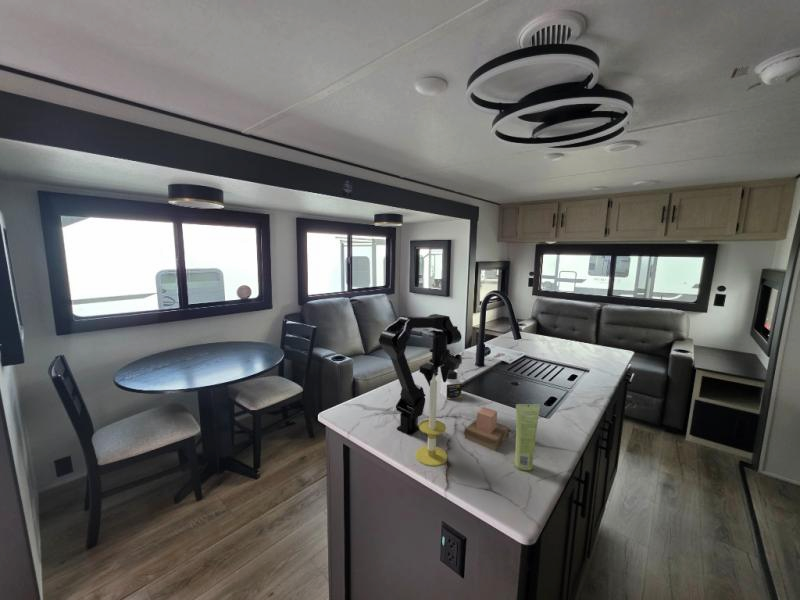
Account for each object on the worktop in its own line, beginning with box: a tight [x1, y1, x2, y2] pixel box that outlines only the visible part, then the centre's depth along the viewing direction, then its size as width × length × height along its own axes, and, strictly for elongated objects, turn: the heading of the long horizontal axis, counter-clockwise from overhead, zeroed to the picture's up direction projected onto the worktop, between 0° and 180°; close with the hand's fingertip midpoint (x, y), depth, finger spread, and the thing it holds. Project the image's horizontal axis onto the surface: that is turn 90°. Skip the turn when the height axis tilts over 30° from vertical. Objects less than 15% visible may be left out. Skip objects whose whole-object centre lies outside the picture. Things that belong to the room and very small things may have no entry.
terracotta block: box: [476, 406, 498, 434], centre depth 109 cm, size 5×5×6 cm
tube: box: [514, 403, 541, 472], centre depth 94 cm, size 6×5×20 cm
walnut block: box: [464, 419, 510, 452], centre depth 110 cm, size 11×11×4 cm
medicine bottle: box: [440, 369, 462, 400], centre depth 143 cm, size 7×7×12 cm
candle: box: [415, 375, 448, 467], centre depth 98 cm, size 10×10×27 cm
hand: (438, 385), depth 124 cm, fingers open, 9 cm apart
